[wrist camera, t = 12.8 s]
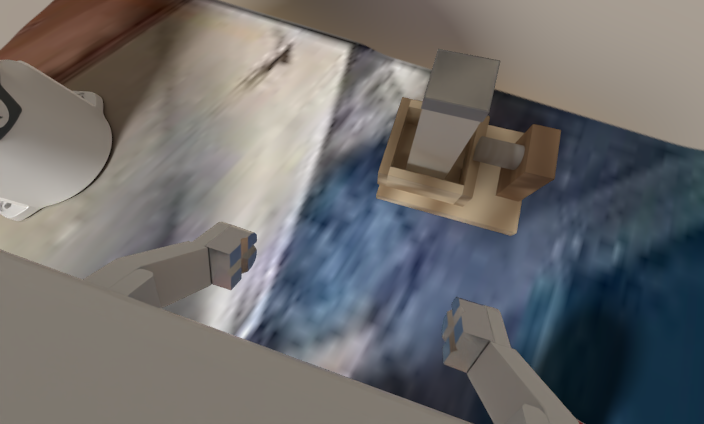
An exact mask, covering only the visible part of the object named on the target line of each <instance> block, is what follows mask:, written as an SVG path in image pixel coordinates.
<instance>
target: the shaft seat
mask: <svg viewBox="0 0 704 424" xmlns="http://www.w3.org/2000/svg"><path fill="white" fill-rule="evenodd" d="M421 106H422V101H418V100H413V99H408V98H404V97H402V100H401V103H400V106H399V109H398V112H397V116H396V119H395V122H394V125H393V128H392V131H391V134H390V137H389V141H388V144H387V147H386V150H385V153H384V156H383V159H382V162H381V165H380V169H379V172H378V184H380V185H379V188H378V191H377V195H376V198H378V199H381V200H385V201H389V202H392V203H396V204H399V205H403V206H406V207H410V208H414V209H417V210H421V211H424V212H428V213H432V214H435V215H439V216H442V217H446V218H449V219H453V220H457V221H460V222H464V223H467V224H471V225H474V226H478V227H482V228H485V229H489V230H492V231H496V232H500V233H503V234H507V235H510V236H511V235H514V234H516V233H517V227H518V221H519V215H520V209H521V203H522V199H524V198H525V197H527V196H528V195H530V194H532V193H533V192H535V191H536V190H538V189H539V188H541V187H543V186H544V185H546V184H547V183H549V182H551V181H552V180H554V179H555V171H556V164H557V156H558V149H559V141H560V134H561V130H558V129H554V128H549V127H545V126H540V125H536V124H533V125H532V126H531V127H530V128H529V129H528V130H527V131H526V132H525V133H522V132H517V131H513V130H508V129H504V128H500V127H495V126H491V125H488V124H489V119H490V116H486V118H485V119H484V121H483V122H480V124H479V125H478V127H477V129H476V130H475V132H474V133H473V135H472V136H471V138H470V140H469V141H468V143H467V144H466V146H465V148H464V149H463V151H462V152H461V154H460V155H459V157H458V159H457V160H456V162H455V163H454V165H453V166H452V168H451V170H450V171H449V173H448V174H447V176H446V177H445V179H440V178H436V177H432V176H428V175H425V174H421V173H417V172H413V171H409V170H405V169H406V166H407V162H408V158H409V155H410V151H411V148H412V144H413V140H414V137H415V133H416V129H417V126H418V122H419V119H420V115H421V111H422V109H421Z"/></svg>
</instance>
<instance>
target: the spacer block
mask: <svg viewBox="0 0 704 424" xmlns="http://www.w3.org/2000/svg"><path fill="white" fill-rule="evenodd" d="M499 65H500V61H499V60H494V59H489V58H484V57H479V56H473V55H468V54H463V53H457V52H452V51H446V50H441V49H438V51H437V55H436V58H435V62H434V65H433V68H432V72H431V75H430V78H429V82H428V85H427V89H426V92H425V95H424V99H423V102H422V106H421V109H422V111H421V115H420V119H419V122H418V126H417V129H416V133H415V137H414V140H413V144H412V148H411V151H410V155H409V158H408V162H407V166H406V169H405V170H409V171H413V172H417V173H421V174H425V175H428V176H432V177H436V178H440V179H445V177H446V176H447V174H448V173H449V171H450V170H451V168H452V166H453V165H454V163H455V162H456V160H457V159H458V157H459V155H460V154H461V152H462V151H463V149H464V148H465V146H466V144H467V143H468V141H469V140H470V138H471V136H472V135H473V133H474V132H475V130H476V129H477V127H478V125H479V124H480V122H483V121H484V119H485V118H486V116H487V115H488V113H489V111H490V106H491V101H492V97H493V92H494V88H495V83H496V78H497V74H498V69H499Z"/></svg>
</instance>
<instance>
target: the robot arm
mask: <svg viewBox="0 0 704 424" xmlns="http://www.w3.org/2000/svg"><path fill="white" fill-rule="evenodd" d="M111 145H112V133H111V128H110V126H109V124H108V122H107V120H106V118H105V117H104V114H103V100H102V98H101V97H100V96H99V95H97V94H95V93H94V92H88V91H71V90H69V89H68V88H66V87H65V86H63V85H61V84H60V83H58V82H57V81H55V80H53V79H52V78H50V77H49V76H47V75H45V74H44V73H42V72H41V71H39V70H37V69H36V68H34V67H33V66H31V65H29V64H27V63H25V62H23V61H13V60H0V214H1V215H3V216H4V217H6V218H8V219H12V220H15V221H21V220H23V219H25V218H27V217H29V216H30V215H32V214H33V213H35V212H36V211H38V210H39V209H41V208H43V207H46V206H49V205H53V204H56V203H59V202H62V201H64V200H67V199H69V198H71V197H72V196H74V195H76V194H77V193H79V192H80V191H82V190H83V189H84V188H85V187H87V186H88V185H89V184H90V183H91V182H92V181H93V180H94V179H95V178H96V176H97V175H98V174H99V172H100V171H101V170H102V168H103V166H104V165H105V163H106V161H107V159H108V156H109V153H110V150H111ZM256 242H257V235H256V234H255V233H254V232H251V231H248V230H245V229H243V228H240V227H237V226H234V225H230V224H227V223H224V222H219V223H217V224H216V225H214V226H213V227H212V228H210V229H209V230H208V231H206V232H205V233H204V234H202V235H201V236H200V237H198V238H197V239H196V240H194V241H193V242H189V241H187V242H183V243H179V244H175V245H170V246H166V247H162V248H158V249H154V250H150V251H146V252H142V253H138V254H133V255H129V256H125V257H121V258H117V259H115V260H114V261H112V262H111V263H109V264H107V265H106V266H104V267H102V268H101V269H99V270H98V271H96V272H94V273H93V274H91V275H90V276H88V277H86V278H85V279H83V280H82V279H79V278H77V277H74V276H71V275H68V274H66V273H63V272H60V271H58V270H55V269H52V268H49V267H47V266H44V265H41V264H38V263H36V262H33V261H30V260H28V259H25V258H22V257H19V256H17V255H14V254H11V253H9V252H6V251H4V250H1V249H0V424H473V423H470V422H467V421H465V420H462V419H459V418H457V417H454V416H451V415H448V414H446V413H443V412H440V411H438V410H435V409H432V408H429V407H427V406H424V405H421V404H419V403H416V402H413V401H410V400H408V399H405V398H402V397H400V396H397V395H394V394H391V393H389V392H386V391H383V390H380V389H378V388H375V387H372V386H370V385H367V384H364V383H361V382H359V381H356V380H353V379H351V378H348V377H345V376H342V375H340V374H337V373H334V372H332V371H329V370H326V369H323V368H321V367H318V366H315V365H313V364H310V363H307V362H304V361H302V360H299V359H296V358H294V357H291V356H288V355H286V354H283V353H280V352H277V351H275V350H272V349H269V348H267V347H264V346H261V345H258V344H256V343H253V342H250V341H248V340H245V339H242V338H239V337H237V336H234V335H231V334H229V333H226V332H223V331H220V330H218V329H215V328H212V327H210V326H207V325H204V324H201V323H199V322H196V321H193V320H191V319H188V318H185V317H182V316H180V315H177V314H174V313H172V312H169V311H166V310H163V309H161V308H163V307H166V306H168V305H170V304H172V303H174V302H176V301H178V300H180V299H182V298H185V297H187V296H189V295H191V294H193V293H195V292H197V291H199V290H202V289H204V288H206V287H208V286H210V285H211V284H213V285H216V286H220V287H223V288H226V289H229V290H232V289H233V288H234V286H235V285H236V284H237V283H238V282H239V281H240V280H241V274H242V273H245V272H247V271H249V269H250V268H251V267H252V265H253V263H254V261H255V259H256V253H257V250H256V248H255V246H254V244H255V243H256ZM442 338H443V339H444V341H445V344H444V345H443V347H442V350H443V364H445V365H447V366H450V367H453V368H455V369H458V370H461V371H463V372H466V373H467V375H468V377H469V379H470V381H471V383H472V385H473V386H474V388H475V390H476V392H477V394H478V395H479V397H480V399H481V401H482V403H483V405H484V406H485V408H486V410H487V412H488V414H489V415H490V417H491V419H492V421H493V423H494V424H579V422H578V421H577V419H576V418H575V417H574V416H573V415H572V414H571V413H570V411H569V410H568V409H567V408H566V407H565V406H564V405H563V403H562V402H561V401H560V400H559V399H558V398H557V397H556V395H555V394H554V393H553V392H552V391H551V390H550V389H549V387H548V386H547V385H546V384H545V383H544V382H543V381H542V379H541V378H540V377H539V376H538V375H537V374H536V373H535V371H534V370H533V369H532V368H531V367H530V366H529V365H528V363H527V362H526V361H525V360H524V359H523V358H522V357H521V355H520V354H519V353H518V352H517V351H516V350H515V349H512V348H511V346H510V343H509V339H508V336H507V333H506V329H505V326H504V323H503V319H502V316H501V313H500V311H499V310H498V309H495V308H492V307H488V306H485V305H481V304H478V303H474V302H471V301H468V300H465V299H462V298H458V297H456V298H455V299H454V300H453V302H452V310H450V311H448V312H447V313H446V315H445V317H444V320H443V324H442Z"/></svg>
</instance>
